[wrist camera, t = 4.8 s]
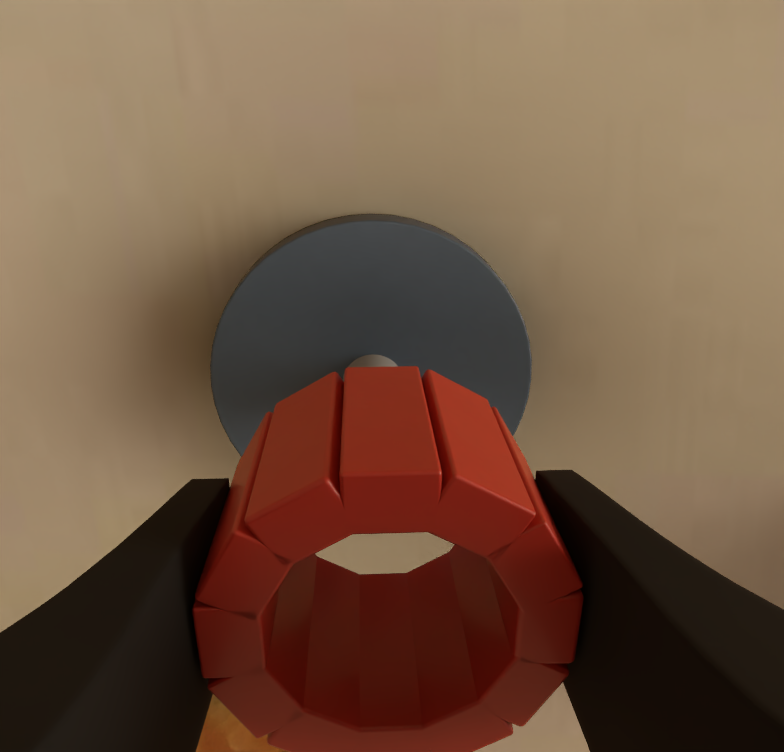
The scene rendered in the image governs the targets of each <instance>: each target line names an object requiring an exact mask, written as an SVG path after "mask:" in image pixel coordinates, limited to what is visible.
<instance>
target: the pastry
mask: <svg viewBox="0 0 784 752" xmlns="http://www.w3.org/2000/svg"><path fill="white" fill-rule="evenodd" d="M267 737H268V734H267V735H265V736H263V737H261V738H256V737H255V736H254V735H253V734H252V733H251V732H250V731H249V730H248V729H247V728H246V727H245V726H244V725H243V724H242V723H241V722H240V721H239V720H238V719H237V718H236V717H235V716H234V715H233V714H232V713H231V712H230V711H229V710H228V709H227V708H226V707H225V706H224V705H223V704H222V703H221V702H220V701H219V699H218V698H217V697H216V696H215V695H214V694H213V695H212V699H211V702H210V705H209V709H208V712H207V716H206V719H205V722H204V726H203V729H202V732H201V736H200V739H199V743H198V746H197V749H196V752H288V751H285V750H282V749H279V748H276V747H274V746H271V745H269V744H268V743H267Z"/></svg>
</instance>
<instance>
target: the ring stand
mask: <svg viewBox="0 0 784 752" xmlns="http://www.w3.org/2000/svg"><path fill="white" fill-rule="evenodd" d="M531 365H532V359H531V351H530V342H529V338H528V334H527V330H526V327H525V323H524V320H523V318H522V315H521V313H520V311H519V308H518V306H517V304H516V302H515V300H514V299H513V297H512V295H511V294H510V292H509V291H508V289H507V287H506V286H505V284H504V283H503V282H502V281H501V279H500V278H499V277H498V276H497V274H496V273H495V272H494V271H493V270H492V268H491V267H490V266H489V265H488V264H487V262H486V261H485V260H484V259H483V258H481V257H480V256H479V255H478V254H477V253H476V252H475V251H474V250H473V249H472V248H470V247H469V246H467V245H466V244H465V243H463V242H462V241H460V240H459V239H457V238H456V237H454V236H453V235H451V234H449V233H447V232H445V231H443V230H441V229H439V228H437V227H435V226H432V225H429V224H426V223H423V222H420V221H417V220H414V219H410V218H404V217H399V216H394V215H382V214H361V215H348V216H344V217H339V218H334V219H329V220H326V221H323V222H320V223H317V224H314V225H311V226H309V227H306V228H304V229H302V230H300V231H298V232H296V233H294V234H292V235H290V236H289V237H287V238H285V239H284V240H283V241H281V242H280V243H278V244H277V245H275V246H274V247H273V248H271V249H270V250H269V251H268V252H267V253H265V254H264V255H263V256H262V257H261V258H260V259H259V260H258V261H257V262H256V263H255V264H254V265H253V266H252V267H251V269H250V270H249V271H248V272H247V274H246V275H245V276H244V277H243V279H242V280H241V282H240V283H239V285H238V286H237V288H236V289H235V291H234V293H233V295H232V296H231V298H230V300H229V301H228V303H227V305H226V306H225V308H224V311H223V313H222V316H221V318H220V321H219V323H218V325H217V329H216V333H215V337H214V341H213V345H212V353H211V363H210V370H211V387H212V392H213V397H214V403H215V406H216V409H217V412H218V415H219V418H220V421H221V423H222V425H223V427H224V429H225V431H226V433H227V435H228V437H229V439H230V441H231V442H232V444H233V445H234V447H235V448H236V450H237V451H238V453H239V454H240V456H241V457H242V456H243V454H244V452H245V450H246V448H247V447H248V445H249V443H250V441H251V439H252V438H253V436H254V434H255V432H256V430H257V429H258V427H259V425H260V423H261V421H262V420H263V418H264V416H265V414H266V413H267V412H272V413H273V412H274V408H275V405H276V404H277V403H278V402H280V401H282V400H283V399H285V398H287V397H289V396H291V395H292V394H294V393H296V392H298V391H300V390H301V389H303V388H305V387H307V386H308V385H310V384H312V383H314V382H316V381H317V380H319V379H321V378H323V377H325V376H326V375H328V374H330V373H332V372H337V373H338V374H339V375H340V377H341V378H342V380H343V381H344V374H345V369H346V368H348V367H395V366H417V367H418V368H419V371H420V376H421V378H422V376H423V375H424V373H425V371H426V370H428V369H430V370H432V371H434V372H436V373H438V374H440V375H442V376H444V377H446V378H448V379H449V380H451V381H453V382H455V383H457V384H459V385H461V386H463V387H465V388H467V389H469V390H470V391H472V392H474V393H476V394H478V395H480V396H482V397H484V398H486V399H487V400H488V402H489V404H490V407H496V408H497V410H498V412H499V414H500V415H501V417H502V419H503V421H504V422H505V424H506V426H507V427H508V429H509V431H510V433H511V434H512V436H513V435H514V434H515V431H516V429H517V427H518V425H519V423H520V420H521V418H522V416H523V413H524V410H525V406H526V403H527V400H528V396H529V389H530V383H531Z"/></svg>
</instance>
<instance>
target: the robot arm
mask: <svg viewBox="0 0 784 752" xmlns="http://www.w3.org/2000/svg"><path fill="white" fill-rule="evenodd" d="M535 481H536V483H537V485H538V487H539V490H540V492H541V494H542V496H543V498H544V500H545V503H546V505H547V507H548V509H549V511H550V513H551V516H552V518H553V520H554V522H555V524H556V526H557V529H558V531H559V533H560V535H561V537H562V539H563V542H564V544H565V546H566V548H567V550H568V552H569V555H570V557H571V559H572V561H573V563H574V565H575V568H576V570H577V572H578V574H579V576H580V578H581V580H582V583H583V587H582V588H581V589H580V590H581V592H582V594H583V597H584V599H583V606H582V613H581V620H580V627H579V633H578V640H577V647H576V654H575V660H574V661H573V662H572V663H569V664H567V666H568V668H569V675H568V677H567V678H566V679H565V680H564V681H563V683H564V686H565V688H566V691H567V693H568V696H569V698H570V701H571V703H572V706H573V709H574V711H575V714H576V716H577V719H578V721H579V724H580V726H581V729H582V731H583V734H584V737H585V739H586V742H587V744H588V747H589V750H590V752H784V610H783V609H781V608H779V607H778V606H776V605H774V604H772V603H770V602H769V601H767V600H765V599H763V598H761V597H759V596H758V595H756V594H754V593H752V592H750V591H749V590H747V589H745V588H743V587H741V586H740V585H738V584H736V583H734V582H733V581H731V580H729V579H728V578H726V577H724V576H723V575H721V574H719V573H718V572H716V571H714V570H713V569H711V568H710V567H708V566H707V565H705V564H703V563H702V562H700V561H699V560H697V559H696V558H694V557H693V556H691V555H690V554H688V553H686V552H685V551H683V550H682V549H680V548H679V547H677V546H676V545H674V544H673V543H672V542H670V541H669V540H667V539H666V538H664V537H663V536H661V535H660V534H659V533H657V532H656V531H654V530H653V529H652V528H650V527H649V526H647V525H646V524H645V523H643V522H642V521H640V520H639V519H638V518H636V517H635V516H634V515H632V514H631V513H630V512H628V511H627V510H626V509H624V508H623V507H622V506H620V505H619V504H618V503H616V502H615V501H614V500H612V499H611V498H610V497H608V496H607V495H606V494H604V493H603V492H602V491H600V490H599V489H598V488H596V487H595V486H594V485H592V484H591V483H590V482H588V481H587V480H586V479H584V478H583V477H581V476H580V475H579V474H577V473H576V472H574V471H573V470H546V471H536V479H535ZM229 489H230V487H229V478H224V479H192V480H191V481H189V482H188V483H187V484H186V485H185V486H184V487H182V488H181V489H180V490H179V491H178V492H177V493H176V494H175V495H174V496H173V497H171V498H170V499H169V500H168V501H167V502H166V503H165V504H164V505H163V506H162V507H161V508H160V509H158V510H157V511H156V512H155V513H154V514H153V515H152V516H151V517H150V518H149V519H148V520H146V521H145V522H144V523H143V524H142V525H141V526H140V527H138V528H137V529H136V530H135V531H134V532H133V533H132V534H131V535H129V536H128V537H127V538H126V539H125V540H124V541H123V542H122V543H120V544H119V545H118V546H117V547H116V548H115V549H113V550H112V551H111V552H110V553H108V554H107V555H106V556H105V557H103V558H102V559H101V560H100V561H98V562H97V563H96V564H95V565H93V566H92V567H91V568H90V569H88V570H87V571H86V572H85V573H83V574H82V575H81V576H80V577H78V578H77V579H76V580H75V581H74V582H72V583H71V584H70V585H69V586H67V587H66V588H65V589H63V590H62V591H60V592H59V593H58V594H56V595H55V596H54V597H52V598H51V599H49V600H48V601H47V602H45V603H44V604H42V605H41V606H40V607H38V608H37V609H35V610H34V611H32V612H31V613H29V614H28V615H26V616H25V617H23V618H22V619H20V620H19V621H17V622H16V623H14V624H13V625H11V626H10V627H8V628H7V629H5V630H4V631H2V632H1V633H0V752H196V749H197V746H198V743H199V739H200V736H201V732H202V729H203V726H204V722H205V719H206V716H207V712H208V709H209V705H210V702H211V699H212V695H213V693H212V692H211V691H210V690H209V689H208V686H207V685H208V681H209V678H203V677H202V674H201V667H200V661H199V654H198V648H197V641H196V634H195V628H194V621H193V615H192V608H193V605H194V602H195V592H196V589H197V586H198V583H199V580H200V577H201V574H202V571H203V568H204V565H205V562H206V559H207V556H208V553H209V550H210V547H211V544H212V541H213V538H214V535H215V532H216V529H217V526H218V523H219V520H220V517H221V514H222V511H223V508H224V505H225V502H226V498H227V495H228V492H229Z"/></svg>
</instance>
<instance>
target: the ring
mask: <svg viewBox="0 0 784 752" xmlns="http://www.w3.org/2000/svg"><path fill="white" fill-rule="evenodd" d="M411 532H429V533H431V534H433V535H435V536H438V537H440V538H442V539H444V540H446V541H449V542H451V543H453V544H455V545H454V546H453V548H452V549H451V550H450V552H448V553H446V554H444V555H442V556H440V557H438V558H436V559H434V560H432V561H430V562H428V563H426V564H424V565H422V566H420V567H418V568H416V569H414V570H412V571H410V572H408V573H393V574H361V575H359V574H357V573H355V572H352V571H350V570H348V569H345V568H343V567H341V566H338V565H336V564H334V563H331V562H329V561H326V560H324V559H322V558H319V557H317V556H316V554H315V553H317V552H319V551H321V550H323V549H325V548H326V547H328V546H330V545H332V544H334V543H336V542H338V541H340V540H342V539H344V538H346V537H348V536H350V535H352V534H376V533H411ZM582 587H583V583H582V580H581V578H580V576H579V574H578V572H577V570H576V568H575V565H574V563H573V561H572V559H571V557H570V555H569V552H568V550H567V548H566V546H565V544H564V542H563V539H562V537H561V535H560V533H559V531H558V529H557V526H556V524H555V522H554V520H553V518H552V516H551V513H550V511H549V509H548V507H547V505H546V503H545V500H544V498H543V496H542V494H541V492H540V490H539V487H538V485H537V483H536V481H535V479H534V477H533V474H532V472H531V470H530V468H529V466H528V464H527V462H526V459H525V457H524V455H523V454H522V452H521V450H520V448H519V447H518V445H517V443H516V441H515V440H514V438H513V436H512V434H511V433H510V431H509V429H508V427H507V426H506V424H505V422H504V421H503V419H502V417H501V415H500V414H499V412H498V410H497V408H496V407H490V404H489V402H488V400H487V399H486V398H484V397H482V396H480V395H478V394H476V393H474V392H472V391H470V390H469V389H467V388H465V387H463V386H461V385H459V384H457V383H455V382H453V381H451V380H449V379H448V378H446V377H444V376H442V375H440V374H438V373H436V372H434V371H432V370H430V369H428V370H426V371H425V373H424V375H423V376H422V378H421V376H420V371H419V368H418V367H417V366H395V367H348V368H346V369H345V374H344V381H343V380H342V378H341V377H340V375H339V374H338V373H337V372H332V373H330V374H328V375H326V376H325V377H323V378H321V379H319V380H317V381H316V382H314V383H312V384H310V385H308V386H307V387H305V388H303V389H301V390H300V391H298V392H296V393H294V394H292V395H291V396H289V397H287V398H285V399H283V400H282V401H280V402H278V403H277V404H276V405H275V408H274V412H273V413H272V412H267V413H266V414H265V416H264V418H263V420H262V421H261V423H260V425H259V427H258V429H257V430H256V432H255V434H254V436H253V438H252V439H251V441H250V443H249V445H248V447H247V448H246V450H245V452H244V454H243V456H242V457H241V459H240V461H239V463H238V465H237V468H236V471H235V474H234V477H233V480H232V483H231V486H230V489H229V492H228V495H227V498H226V502H225V505H224V508H223V511H222V514H221V517H220V520H219V523H218V526H217V529H216V532H215V535H214V538H213V541H212V544H211V547H210V550H209V553H208V556H207V559H206V562H205V565H204V568H203V571H202V574H201V577H200V580H199V583H198V586H197V589H196V592H195V602H194V605H193V608H192V615H193V621H194V628H195V634H196V641H197V648H198V654H199V661H200V667H201V674H202V677H203V678H209V681H208V685H207V686H208V689H209V690H210V691H211V692H212V693H213V694H214V695H215V696H216V697H217V698H218V699H219V701H220V702H221V703H222V704H223V705H224V706H225V707H226V708H227V709H228V710H229V711H230V712H231V713H232V714H233V715H234V716H235V717H236V718H237V719H238V720H239V721H240V722H241V723H242V724H243V725H244V726H245V727H246V728H247V729H248V730H249V731H250V732H251V733H252V734H253V735H254V736H255V737H256V738H261V737H263V736H265V735H267V734H268V737H267V743H268V744H269V745H271V746H274V747H276V748H279V749H282V750H285V751H288V752H473V751H475V750H478V749H480V748H482V747H485V746H487V745H489V744H492V743H494V742H496V741H498V740H501V739H503V738H505V737H508V736H510V735H512V734H513V728H512V723H513V724H515V725H518V726H524V725H525V724H526V723H527V722H528V721H529V719H530V718H531V717H532V716H533V715H534V714H535V713H536V712H537V710H538V709H539V708H540V707H541V706H542V705H543V704H544V703H545V701H546V700H547V699H548V698H549V697H550V696H551V695H552V694H553V692H554V691H555V690H556V689H557V688H558V687H559V686H560V685H561V683H562V682H563V681H564V680H565V679H566V678H567V677H568V675H569V668H568V666H567V664H569V663H572V662H573V661H574V660H575V654H576V647H577V640H578V633H579V627H580V620H581V613H582V606H583V599H584V597H583V594H582V592H581V590H580V589H581V588H582Z"/></svg>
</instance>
